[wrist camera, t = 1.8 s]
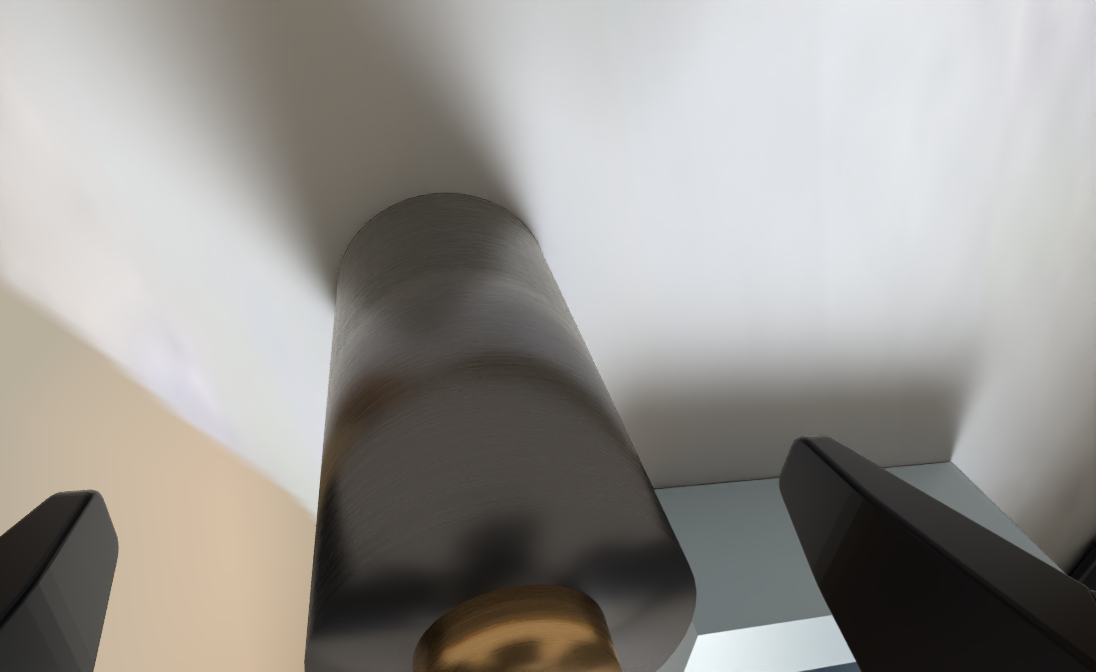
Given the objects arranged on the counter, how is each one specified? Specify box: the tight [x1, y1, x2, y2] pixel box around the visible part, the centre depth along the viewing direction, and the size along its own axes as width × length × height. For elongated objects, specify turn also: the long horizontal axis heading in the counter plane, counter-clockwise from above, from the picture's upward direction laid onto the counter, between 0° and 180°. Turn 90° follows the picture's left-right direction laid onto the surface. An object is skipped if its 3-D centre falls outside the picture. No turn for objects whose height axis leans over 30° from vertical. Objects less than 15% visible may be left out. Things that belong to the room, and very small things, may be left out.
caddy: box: [654, 462, 1064, 672], centre depth 19 cm, size 10×10×4 cm
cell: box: [304, 193, 697, 672], centre depth 9 cm, size 4×4×8 cm
